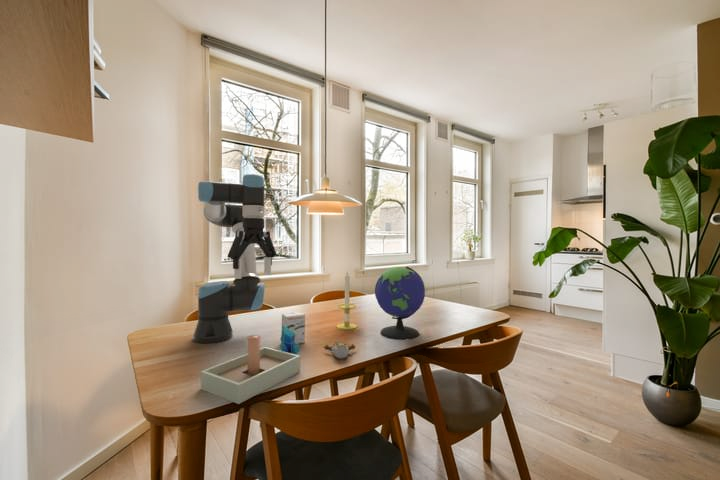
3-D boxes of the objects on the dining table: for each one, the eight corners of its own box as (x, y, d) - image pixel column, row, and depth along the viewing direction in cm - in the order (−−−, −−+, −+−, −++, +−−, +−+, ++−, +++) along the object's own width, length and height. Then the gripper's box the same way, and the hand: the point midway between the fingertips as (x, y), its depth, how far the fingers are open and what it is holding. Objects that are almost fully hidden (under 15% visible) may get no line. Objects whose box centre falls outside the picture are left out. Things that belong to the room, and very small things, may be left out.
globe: (385, 324, 161) (385, 263, 160) (430, 330, 151) (430, 265, 151) (366, 337, 141) (366, 267, 140) (416, 344, 131) (417, 270, 131)
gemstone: (276, 364, 111) (276, 328, 111) (281, 354, 119) (281, 322, 119) (298, 363, 111) (298, 328, 111) (301, 354, 120) (302, 321, 120)
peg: (244, 380, 98) (244, 337, 98) (254, 376, 101) (254, 334, 101) (253, 383, 96) (253, 339, 96) (262, 378, 99) (262, 336, 99)
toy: (353, 336, 130) (358, 344, 115) (353, 350, 129) (358, 360, 114) (323, 337, 128) (324, 345, 113) (323, 351, 127) (324, 361, 113)
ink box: (285, 346, 128) (285, 316, 128) (280, 342, 133) (281, 313, 132) (305, 342, 133) (305, 313, 133) (300, 339, 137) (300, 311, 137)
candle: (357, 329, 152) (357, 271, 151) (335, 329, 152) (335, 271, 151) (357, 323, 161) (357, 269, 161) (337, 323, 162) (337, 269, 161)
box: (200, 389, 92) (200, 371, 92) (264, 361, 113) (264, 346, 113) (238, 404, 84) (238, 384, 84) (300, 371, 105) (300, 355, 105)
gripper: (231, 215, 105) (231, 281, 106) (285, 219, 127) (285, 273, 127) (216, 216, 109) (216, 279, 110) (271, 219, 131) (271, 272, 131)
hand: (253, 276), depth 118 cm, fingers open, 13 cm apart
